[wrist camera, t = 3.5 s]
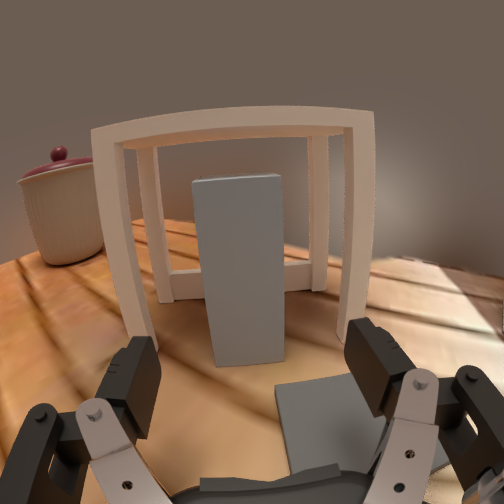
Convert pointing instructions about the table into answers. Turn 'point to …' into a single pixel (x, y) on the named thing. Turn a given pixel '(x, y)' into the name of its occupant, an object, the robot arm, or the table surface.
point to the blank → (242, 265)
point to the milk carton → (503, 316)
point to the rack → (233, 127)
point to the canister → (63, 208)
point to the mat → (331, 425)
